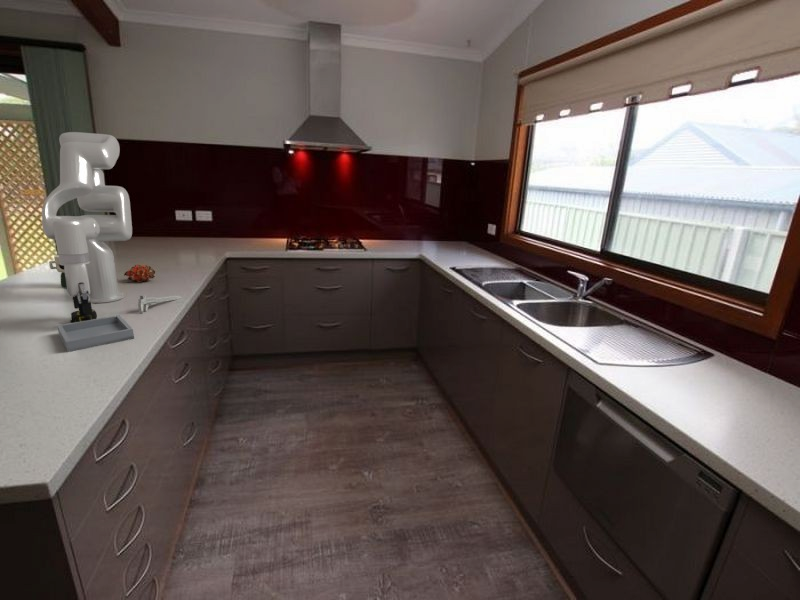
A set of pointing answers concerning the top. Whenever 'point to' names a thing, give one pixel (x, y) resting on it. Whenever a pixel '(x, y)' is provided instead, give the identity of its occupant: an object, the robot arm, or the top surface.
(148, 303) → the caliper
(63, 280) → the character mug
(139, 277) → the dragon fruit
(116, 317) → the parts tray
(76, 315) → the tape measure
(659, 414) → the top surface
